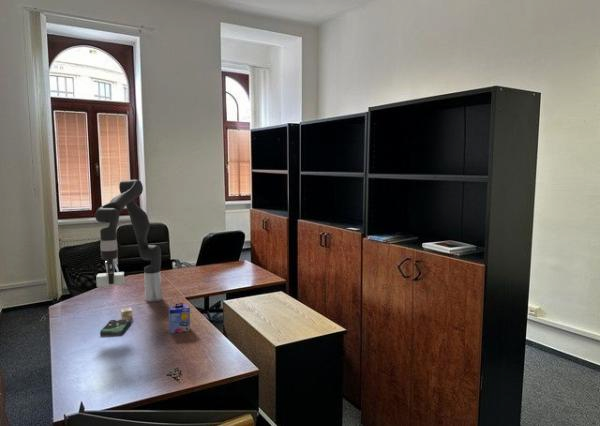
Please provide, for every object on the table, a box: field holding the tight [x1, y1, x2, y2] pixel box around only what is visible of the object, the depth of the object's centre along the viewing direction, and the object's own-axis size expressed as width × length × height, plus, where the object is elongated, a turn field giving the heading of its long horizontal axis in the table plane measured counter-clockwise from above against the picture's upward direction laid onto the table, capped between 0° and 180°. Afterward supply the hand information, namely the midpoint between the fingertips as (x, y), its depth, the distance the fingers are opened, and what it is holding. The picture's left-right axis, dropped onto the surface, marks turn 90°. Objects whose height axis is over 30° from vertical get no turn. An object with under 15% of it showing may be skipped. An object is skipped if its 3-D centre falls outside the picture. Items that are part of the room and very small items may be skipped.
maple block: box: [120, 307, 133, 321], centre depth 225 cm, size 5×5×5 cm
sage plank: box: [95, 271, 125, 288], centre depth 209 cm, size 12×6×5 cm, turn 109°
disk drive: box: [99, 319, 132, 337], centre depth 211 cm, size 10×3×15 cm
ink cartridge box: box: [168, 302, 191, 334], centre depth 209 cm, size 10×6×14 cm, turn 113°
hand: (110, 282), depth 209 cm, fingers closed on sage plank, 6 cm apart
